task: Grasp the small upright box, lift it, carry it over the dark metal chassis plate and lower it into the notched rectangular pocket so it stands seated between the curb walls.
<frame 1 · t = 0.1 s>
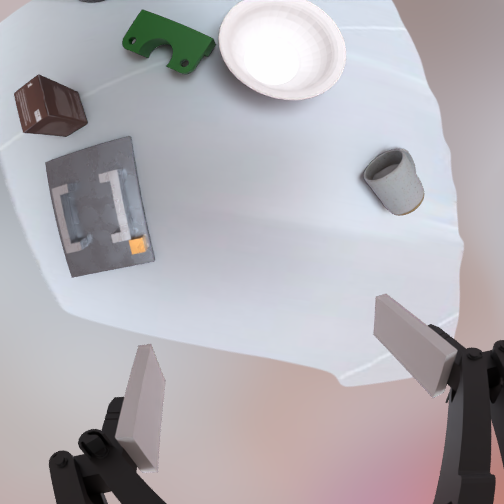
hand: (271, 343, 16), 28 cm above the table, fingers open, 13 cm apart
box: (71, 115, 34), on the table
ceramic mug: (386, 174, 44), on the table
clamp: (170, 51, 34), on the table
bowl: (270, 62, 36), on the table
chassis: (97, 209, 38), on the table
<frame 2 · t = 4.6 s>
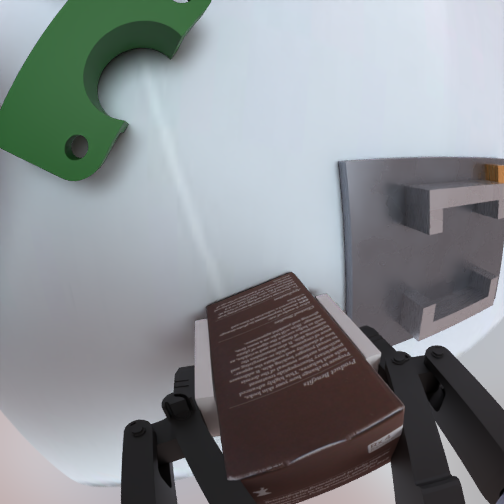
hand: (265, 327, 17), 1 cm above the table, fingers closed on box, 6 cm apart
box: (260, 314, 19), on the table, touching gripper
clamp: (116, 76, 14), on the table
chassis: (441, 246, 20), on the table
when the fingers open (3 cm above the table, at t = 10.4 s): box stays where it is, resting on chassis.
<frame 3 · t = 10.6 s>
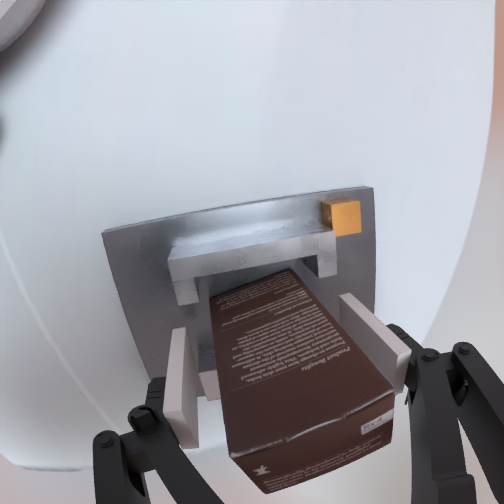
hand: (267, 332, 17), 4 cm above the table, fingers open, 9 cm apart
box: (260, 308, 20), point 1 cm above the table, touching chassis
bowl: (9, 13, 11), on the table
chassis: (255, 302, 21), on the table
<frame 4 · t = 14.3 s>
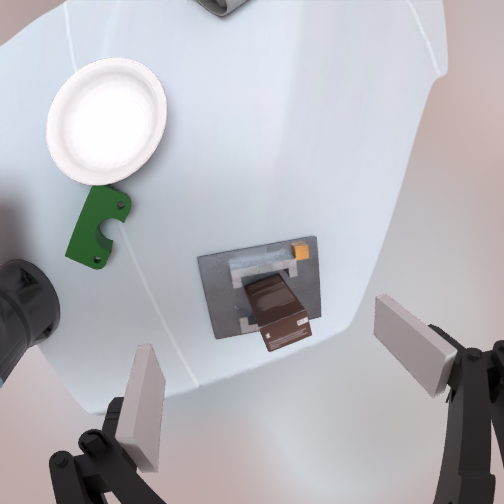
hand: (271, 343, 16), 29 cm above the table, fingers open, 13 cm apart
box: (265, 290, 46), point 1 cm above the table, touching chassis
clamp: (105, 219, 40), on the table
bowl: (120, 127, 36), on the table
chassis: (263, 288, 46), on the table
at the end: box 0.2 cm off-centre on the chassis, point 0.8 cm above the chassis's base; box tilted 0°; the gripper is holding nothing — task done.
